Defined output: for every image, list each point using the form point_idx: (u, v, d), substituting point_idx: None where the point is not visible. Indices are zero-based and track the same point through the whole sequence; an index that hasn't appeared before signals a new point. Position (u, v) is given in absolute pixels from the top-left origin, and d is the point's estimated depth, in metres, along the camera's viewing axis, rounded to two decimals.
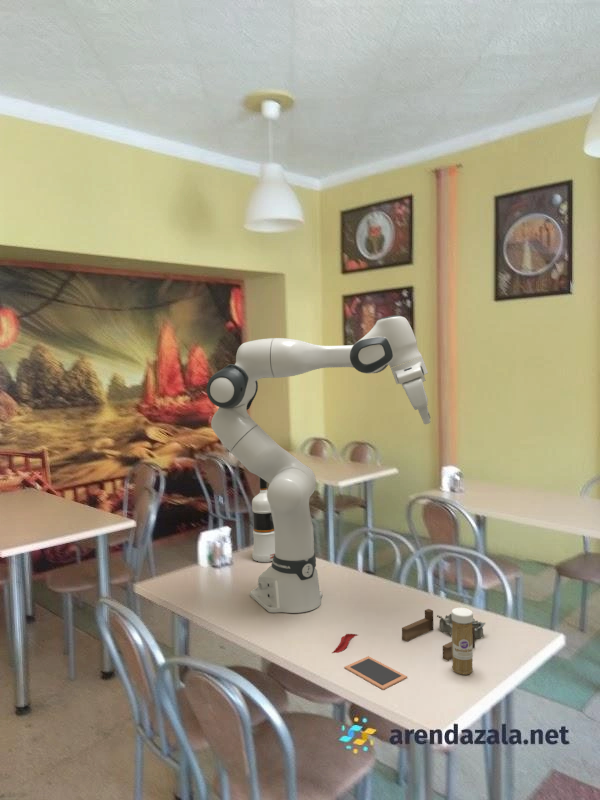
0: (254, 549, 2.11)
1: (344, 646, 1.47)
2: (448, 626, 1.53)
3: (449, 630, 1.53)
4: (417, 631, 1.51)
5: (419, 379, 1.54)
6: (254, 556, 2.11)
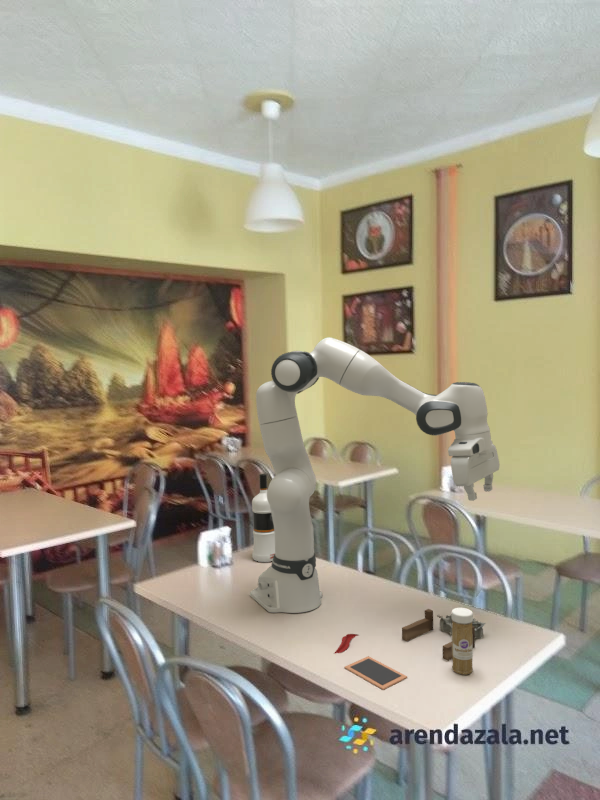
0: (254, 549, 2.11)
1: (345, 646, 1.47)
2: (448, 626, 1.54)
3: (449, 630, 1.53)
4: (417, 631, 1.51)
5: (467, 458, 1.51)
6: (254, 556, 2.11)
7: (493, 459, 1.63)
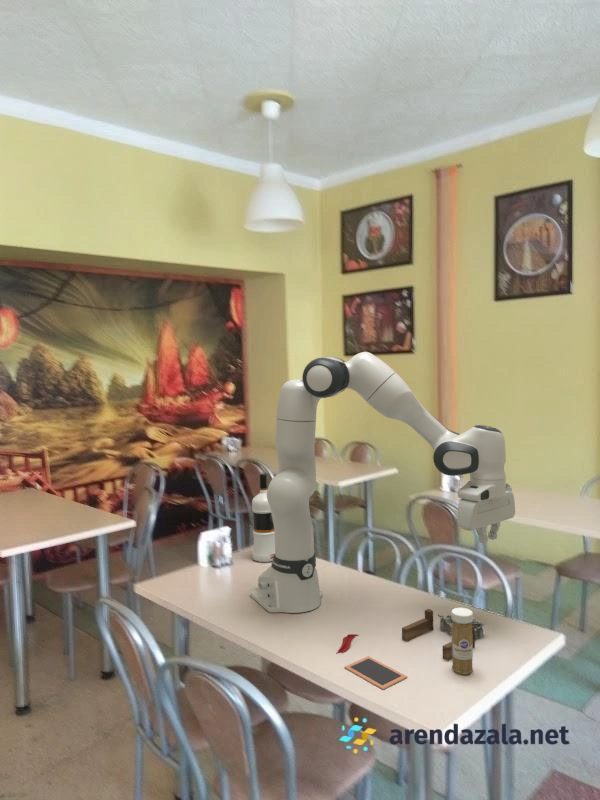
0: (254, 549, 2.11)
1: (347, 647, 1.46)
2: (448, 625, 1.54)
3: (449, 629, 1.53)
4: (417, 631, 1.51)
5: (473, 503, 1.51)
6: (254, 556, 2.11)
7: (508, 506, 1.61)
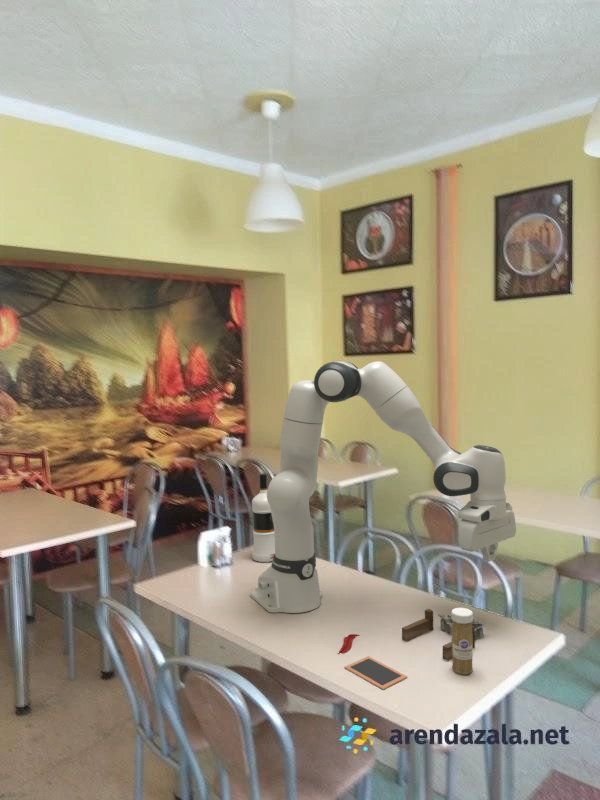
0: (254, 549, 2.11)
1: (348, 647, 1.46)
2: (449, 625, 1.54)
3: (449, 629, 1.54)
4: (417, 631, 1.51)
5: (474, 524, 1.52)
6: (254, 556, 2.11)
7: (508, 526, 1.61)
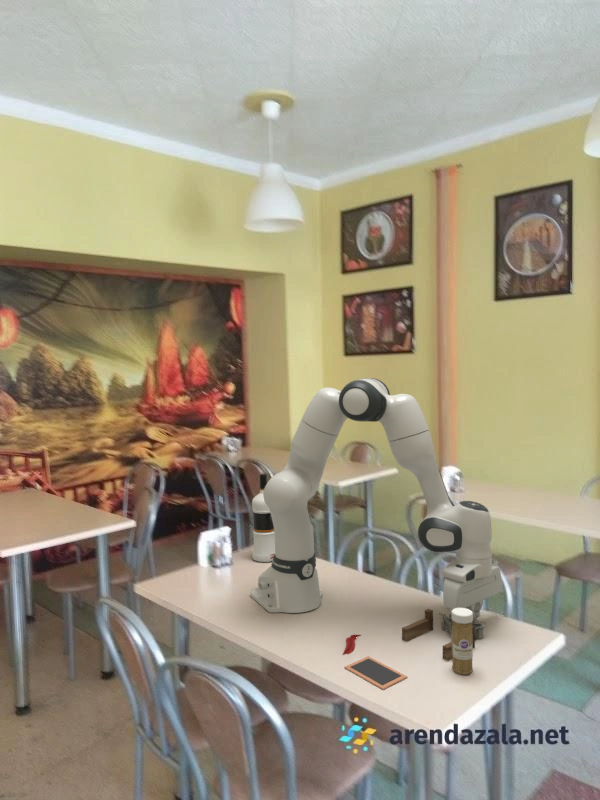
0: (254, 549, 2.11)
1: (352, 647, 1.46)
2: (449, 624, 1.54)
3: (449, 628, 1.54)
4: (417, 631, 1.51)
5: (459, 584, 1.49)
6: (254, 556, 2.11)
7: (494, 582, 1.59)
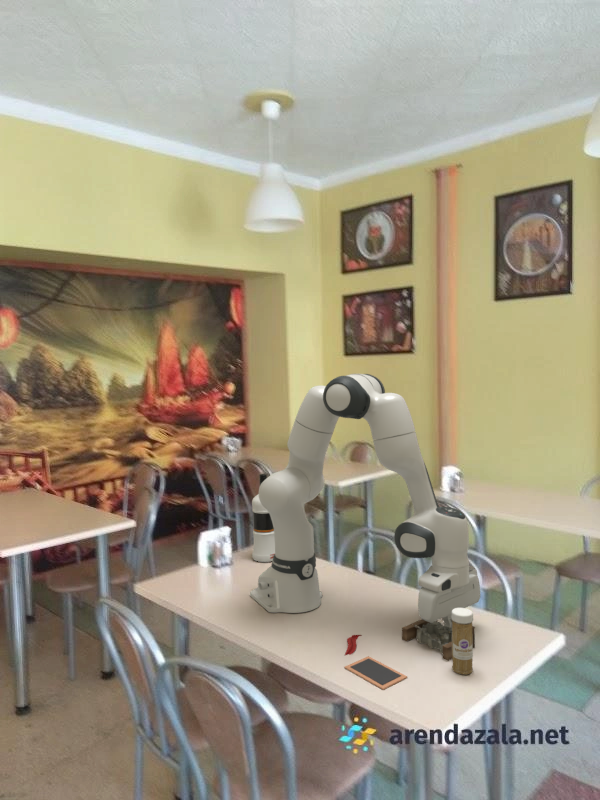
0: (254, 549, 2.11)
1: (354, 648, 1.46)
2: (426, 636, 1.48)
3: (427, 640, 1.47)
4: None
5: (434, 594, 1.43)
6: (254, 556, 2.11)
7: (472, 591, 1.53)
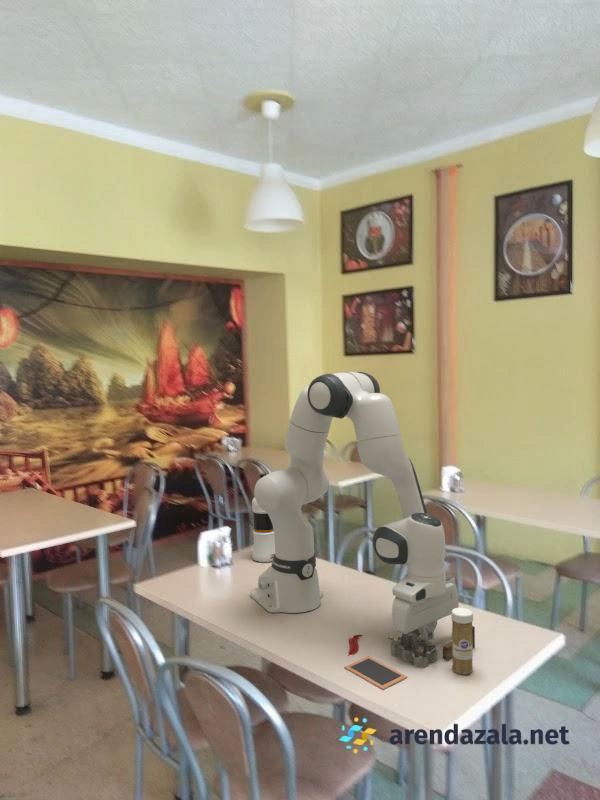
0: (254, 549, 2.11)
1: (356, 648, 1.46)
2: (400, 649, 1.42)
3: (401, 653, 1.42)
4: (417, 631, 1.51)
5: (408, 604, 1.38)
6: (254, 556, 2.11)
7: (450, 601, 1.47)
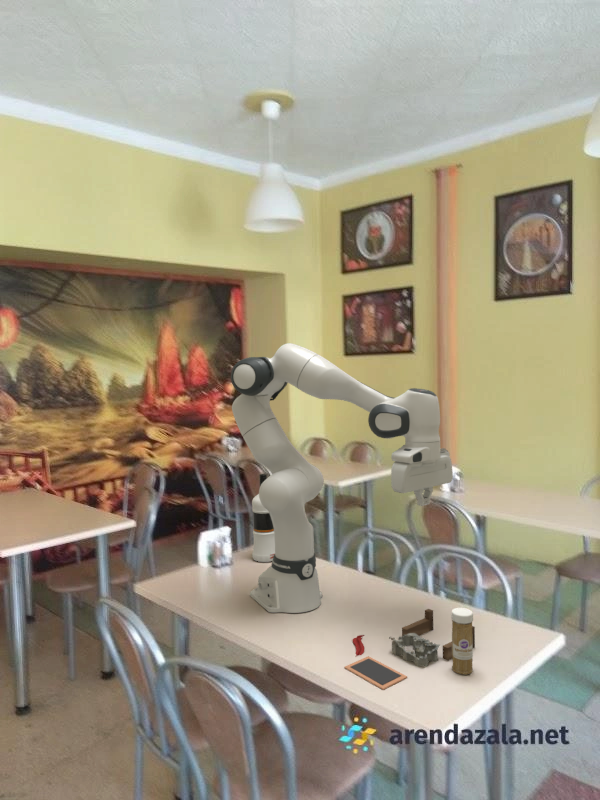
0: (254, 549, 2.11)
1: (362, 648, 1.45)
2: (401, 648, 1.42)
3: (402, 653, 1.42)
4: (417, 631, 1.51)
5: (406, 465, 1.50)
6: (254, 556, 2.11)
7: (444, 471, 1.60)
